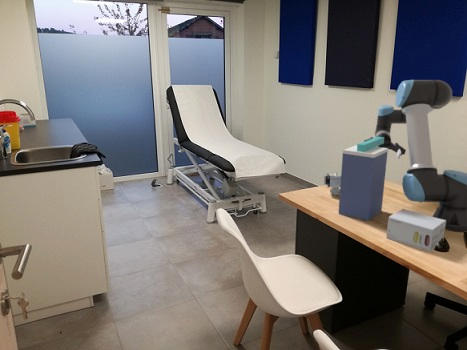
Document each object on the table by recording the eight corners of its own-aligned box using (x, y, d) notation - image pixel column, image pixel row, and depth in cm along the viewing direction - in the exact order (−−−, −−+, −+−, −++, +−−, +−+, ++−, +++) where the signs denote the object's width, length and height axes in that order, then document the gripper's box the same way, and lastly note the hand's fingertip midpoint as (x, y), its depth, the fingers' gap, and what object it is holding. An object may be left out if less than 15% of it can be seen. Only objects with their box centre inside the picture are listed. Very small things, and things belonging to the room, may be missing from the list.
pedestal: (352, 204, 190) (357, 144, 182) (381, 210, 181) (387, 148, 173) (338, 213, 178) (343, 150, 170) (368, 221, 170) (374, 154, 161)
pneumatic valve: (323, 193, 207) (324, 171, 204) (345, 193, 207) (346, 171, 204) (325, 196, 202) (326, 174, 199) (347, 196, 202) (349, 174, 199)
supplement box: (385, 238, 153) (387, 216, 150) (400, 229, 161) (402, 208, 159) (429, 252, 141) (433, 229, 138) (443, 241, 149) (446, 219, 147)
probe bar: (377, 142, 186) (377, 136, 185) (383, 143, 184) (384, 137, 183) (356, 150, 168) (357, 144, 167) (363, 151, 166) (364, 145, 165)
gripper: (405, 151, 204) (409, 165, 185) (357, 140, 209) (356, 153, 191) (410, 138, 201) (414, 151, 182) (361, 127, 206) (360, 139, 187)
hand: (384, 152), depth 186 cm, fingers open, 13 cm apart
